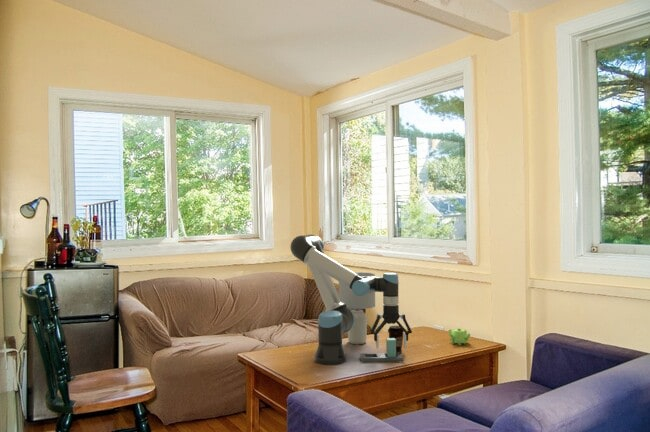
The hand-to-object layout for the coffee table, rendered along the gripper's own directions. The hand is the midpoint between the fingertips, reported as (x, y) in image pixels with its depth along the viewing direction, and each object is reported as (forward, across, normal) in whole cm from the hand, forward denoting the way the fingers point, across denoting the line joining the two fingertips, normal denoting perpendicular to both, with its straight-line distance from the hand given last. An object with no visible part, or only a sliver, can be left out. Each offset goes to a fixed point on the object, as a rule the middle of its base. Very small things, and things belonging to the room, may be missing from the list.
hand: (391, 347), depth 255 cm
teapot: (+6, +42, +28) cm, 51 cm away
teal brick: (+6, 0, 0) cm, 6 cm away
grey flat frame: (+6, -5, 0) cm, 8 cm away
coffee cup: (+6, +5, +14) cm, 16 cm away
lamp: (+6, -13, +35) cm, 38 cm away
